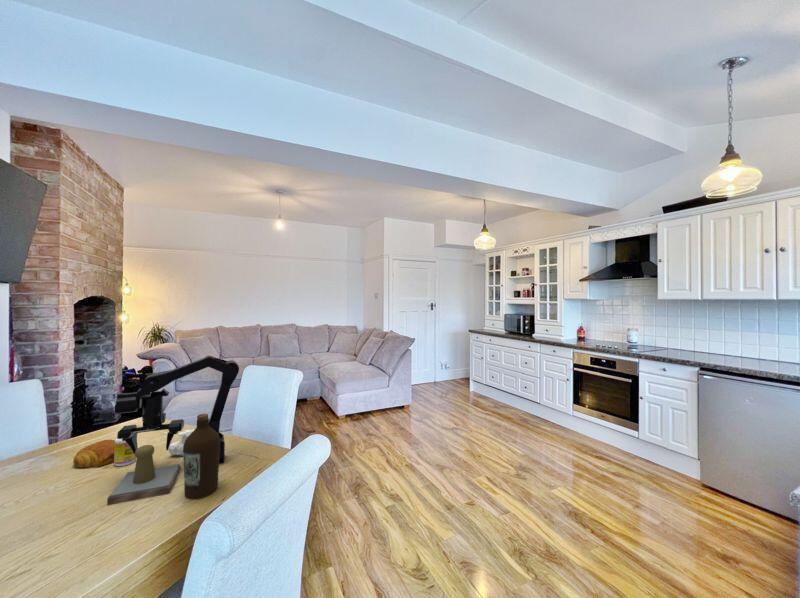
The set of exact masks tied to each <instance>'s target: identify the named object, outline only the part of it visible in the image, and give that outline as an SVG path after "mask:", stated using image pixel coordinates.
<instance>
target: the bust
mask: <svg viewBox="0 0 800 598" xmlns="http://www.w3.org/2000/svg"><path fill="white" fill-rule="evenodd" d="M195 429H196V428H194V429H189V428H188V429H184V430H183V431H182V432H178V433H177V435H178V436H180V437H181V440H179V441H175V442H173V443H172V442H171V443H170V446H169V449H168V450H167V451H168V453H169V455H171V456H182V457H183V446H184V443H185V440H186V439H187V437H188V436H189V435H190V434H191V433H192V432H193V431H194V430H195Z"/></svg>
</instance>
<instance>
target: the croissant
mask: <svg viewBox="0 0 800 598" xmlns="http://www.w3.org/2000/svg"><path fill="white" fill-rule="evenodd" d="M114 449H115V439H103V440H100V441H96V442H94V443H91V444H89V445H87V446H85V447H83V448H81V449H80V450H79V451H78V452H77V453H76V454H75V455H74V458H73V463H72V464H73V465H74V466H75V467H76V468H91V466H93V467H92V468H98V467H102V466H104V465H108V464H110V463H114Z"/></svg>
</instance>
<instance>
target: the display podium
mask: <svg viewBox="0 0 800 598" xmlns="http://www.w3.org/2000/svg"><path fill="white" fill-rule="evenodd" d="M181 467H182V465H181V464H173V465H166V466H165V465H164V466H158V467H154V470H155V478H154V479H153V480H151V481H149V482H146V483H142V484H134V483H133V478H134V472H135V470H134V471H129V472H127V473H126V474H125V475H124V477H123V478H122V479H121V481H120V482H119V483H118V484H117V486H116V487H115V488H114V489H113V491H112V492H111V493H110V495H109V496H108V497H107V501H106V502H107V504H106V505H107V506H110V505H114V504H119V503H124V502H131V501H135V500H140V499H146V498H152V497H157V496H162V495H169V494H170V493H171V491H172V489H173V487H174V485H175V482H176V480H177V478H178V477H179V475H180V473H181V470H182V468H181Z"/></svg>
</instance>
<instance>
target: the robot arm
mask: <svg viewBox="0 0 800 598" xmlns="http://www.w3.org/2000/svg"><path fill="white" fill-rule="evenodd" d="M208 368H211V369H213V370H215V371H217V372H221V378H220V380H221V381H220V385H219V388H218V390H217V394H216V398H215V401H214V405H213V407H212V410H211V413H210V417H209V421H208V425H209V426H210V427H211V428H212V429H213V430H215V431H216V432H217V433H218V434H219V437H220V455H219V465H220V464H224V463H225V461H226V460H225V459H226V448H225V447H226V442H225V436H224V434H222V433H221V432H220V427H221V426H220V424H221V418H222V415H223V412H224V409H225V405H226V402H227V399H228V396H229V393H230V391H231V387H232V384H233V383H234V381H235V380H236V378H237V376H238V374H239V372H240V366H239V364H238V363H237V361H235V360H232V359H231V360H225V359H221V358H218V357H215V356H213V355H206V356H205V357H203V358H202V357H201V358H199V359H197V360H194V361H192V362H189V363H187V364H184V365H182V366H178V367H176V368H173V369H170V370H162V371H158V372H154V373H151V374H149V375H147V377H145V379H144V380H143V382H142V384H141V385H142V386H141V388H139V389H138V390H137V391H136V392H121V393H117V395H116V401H115V405H114V414H115V415H117V414H118V415H119V414H126V413H136V412H137V411H138V409H141V408H142V415H141V419H142V425H141V426H137V424H130V425H129V424H127V425H124V426H123V427H122V428H120V429H119V430H118V431H117V434H116V436H117V437H116V438H117V439H122V441H126V442H127V443H128V445H129V446H130V447H131V449H132V451H133V452H134V454H135V451H136V450H137V449H138V448H139V447H138V434H140V433H147V432H156V431H157V432H158V431H165V430H168V432H167V434H166V445H165V451H167V452H168V451H169V450H168V449H169V446H170V445H171V444H172V440H173V438H174V435H178V433H179V432H181V431H182V430H183V429H184V427H185V419H183V418H182V419H172V420H171V421H170V423H165V422H166V415H167V413H166V412H164V409H163V407H164V403H163V401H164V397H168V396H169V394H170V392H169V391H168V390H166V389H165V388H164V387H166V386H167V385H169V384H171V383H173V382H174V381H176V380H178V379H181V378H184V377H186V376H189V375H191V374H194V373H197V372H199V371H202V370H204V369H208ZM159 390H160V391H159Z"/></svg>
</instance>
